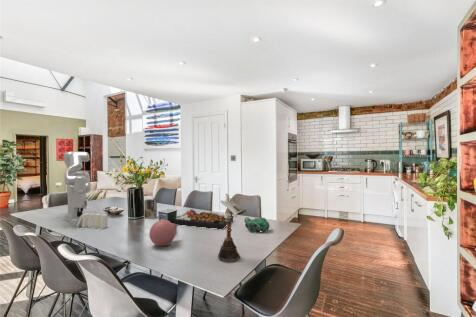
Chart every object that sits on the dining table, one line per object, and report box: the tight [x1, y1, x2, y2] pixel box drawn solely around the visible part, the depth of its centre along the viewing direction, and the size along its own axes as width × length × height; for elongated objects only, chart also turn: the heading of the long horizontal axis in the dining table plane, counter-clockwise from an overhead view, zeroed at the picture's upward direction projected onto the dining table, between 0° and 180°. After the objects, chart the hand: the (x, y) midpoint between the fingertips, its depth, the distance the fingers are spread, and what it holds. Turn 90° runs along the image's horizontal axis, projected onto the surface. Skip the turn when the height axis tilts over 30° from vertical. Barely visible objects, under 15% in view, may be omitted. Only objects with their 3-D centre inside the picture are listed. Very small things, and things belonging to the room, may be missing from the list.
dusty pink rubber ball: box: [148, 219, 179, 247], centre depth 148 cm, size 15×20×15 cm
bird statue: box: [217, 193, 247, 263], centre depth 127 cm, size 17×13×35 cm
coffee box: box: [143, 198, 158, 220], centre depth 211 cm, size 9×6×16 cm
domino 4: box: [93, 213, 102, 230], centre depth 179 cm, size 2×5×10 cm, turn 168°
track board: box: [80, 226, 106, 230], centre depth 180 cm, size 27×9×1 cm, turn 78°
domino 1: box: [75, 213, 84, 228], centre depth 182 cm, size 2×5×10 cm, turn 168°
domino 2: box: [81, 212, 91, 229], centre depth 181 cm, size 2×5×10 cm, turn 168°
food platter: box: [174, 208, 227, 230], centre depth 196 cm, size 45×25×10 cm, turn 72°
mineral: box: [244, 216, 270, 233], centre depth 175 cm, size 18×16×10 cm
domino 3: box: [87, 212, 96, 229], centre depth 180 cm, size 2×5×10 cm, turn 167°
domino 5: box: [100, 213, 109, 230], centre depth 178 cm, size 2×5×10 cm, turn 168°
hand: (79, 216), depth 182 cm, fingers closed
